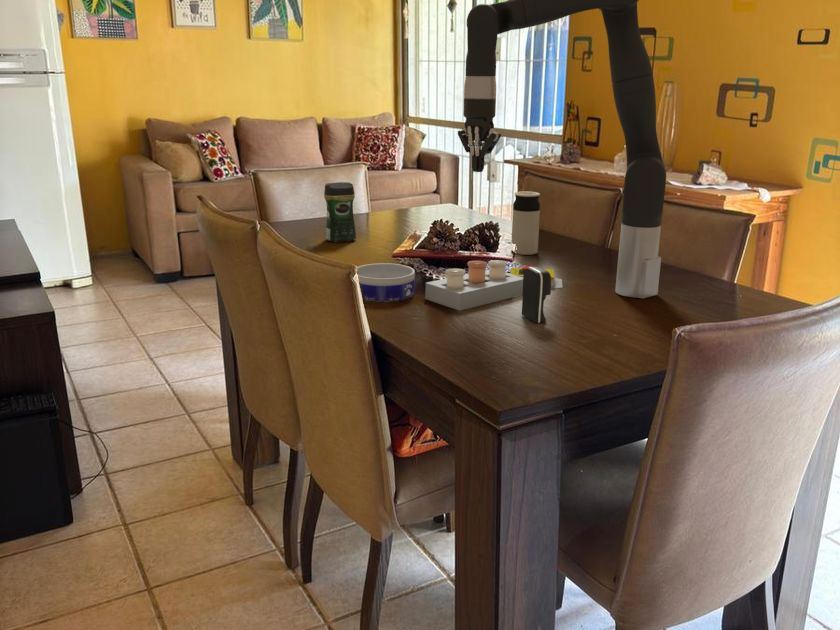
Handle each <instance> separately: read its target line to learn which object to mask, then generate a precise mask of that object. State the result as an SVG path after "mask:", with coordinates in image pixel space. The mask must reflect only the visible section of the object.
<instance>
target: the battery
mask: <svg viewBox="0 0 840 630" xmlns="http://www.w3.org/2000/svg"><path fill="white" fill-rule="evenodd" d="M544 269H545V268H541V267H539V266H533V267H528V268H526V269H525V270H524V274H523V295H521V296H522V299H521V300H522V305H521V315H522V316H523V317H524V318H526V319H527V320H529V321H531V322H532V323H535V324H540V323H544V322H546V321H547V318H546V316H545V314H544V303H545V300H546V298H547V296H551V295H552V294H551V293H552V288H551V275H550V273H549V272H548V271H546V270H544Z"/></svg>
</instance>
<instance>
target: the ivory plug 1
mask: <svg viewBox="0 0 840 630" xmlns="http://www.w3.org/2000/svg"><path fill="white" fill-rule="evenodd" d="M465 274H466V270H465V269H463V268H447V269H445V275H446V278H447V287H449V288H452V289H458V288H462V287H464V275H465Z"/></svg>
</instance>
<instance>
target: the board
mask: <svg viewBox="0 0 840 630" xmlns="http://www.w3.org/2000/svg"><path fill="white" fill-rule="evenodd" d="M468 275H469V273H465V275H464V287H462V288H458V289H452V288H449V287H447V277H446V278H443V279H437V280H432V281H427V282H425V293H424V294H425V297H424V298H425V300H428V301H429V302H433V303H436V304H439V305H441V306H444V307H448V308H450V309H454V310H457V311H464V310H467V309H471V308H475V307H479V306H483V305H487V304H491V303H496V302H500V301H504V300H509V299H512V298H515V297H519V296H523V277H519V276H515V275H512V274H510V273H508V272H506V275H505V278H503V279H498V280H496V279H493V278H489V269H485V283H480V284H473V283H470V282H468Z"/></svg>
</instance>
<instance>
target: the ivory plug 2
mask: <svg viewBox="0 0 840 630" xmlns="http://www.w3.org/2000/svg"><path fill="white" fill-rule="evenodd" d="M487 266H489V267H488V268H489V269H488V270H489V278H493V279H496V280H498V279H503V278H505V275H506V273H507V271H506V269H507V266H508V262H507V261H505V260H501V259H500V260H499V259H498V260H497V259H496V260H495V259H494V260H493V259H492V260H489V261H488V262H487Z"/></svg>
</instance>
